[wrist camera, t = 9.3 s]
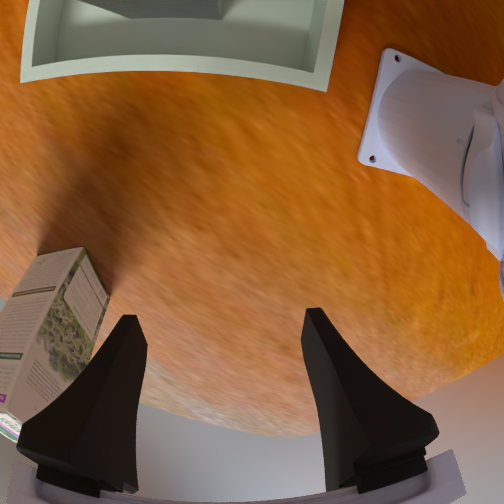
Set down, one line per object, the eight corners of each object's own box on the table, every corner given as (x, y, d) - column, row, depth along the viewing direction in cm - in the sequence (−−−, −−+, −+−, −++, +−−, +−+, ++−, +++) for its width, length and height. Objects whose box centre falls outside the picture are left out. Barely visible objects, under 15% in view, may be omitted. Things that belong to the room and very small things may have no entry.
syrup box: (34, 254, 20) (-46, 398, 9) (86, 243, 20) (4, 417, 8) (63, 304, 24) (10, 443, 12) (114, 298, 24) (69, 461, 12)
